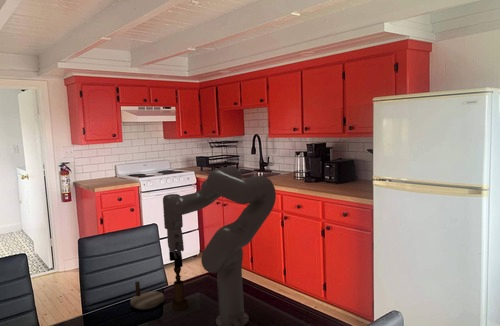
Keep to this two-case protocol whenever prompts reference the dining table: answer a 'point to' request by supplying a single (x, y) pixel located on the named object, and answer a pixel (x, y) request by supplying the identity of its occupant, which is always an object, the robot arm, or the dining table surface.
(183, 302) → the wooden pepper mill
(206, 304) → the dining table surface
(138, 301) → the disc
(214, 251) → the robot arm
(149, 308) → the turntable base
